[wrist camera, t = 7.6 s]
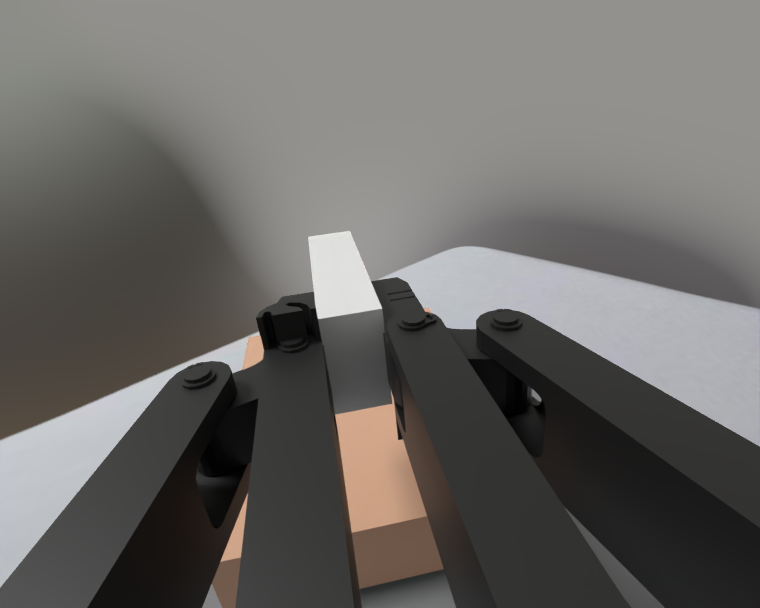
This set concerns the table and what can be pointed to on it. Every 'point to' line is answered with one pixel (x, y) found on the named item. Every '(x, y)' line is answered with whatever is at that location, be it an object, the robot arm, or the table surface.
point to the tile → (362, 502)
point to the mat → (434, 598)
